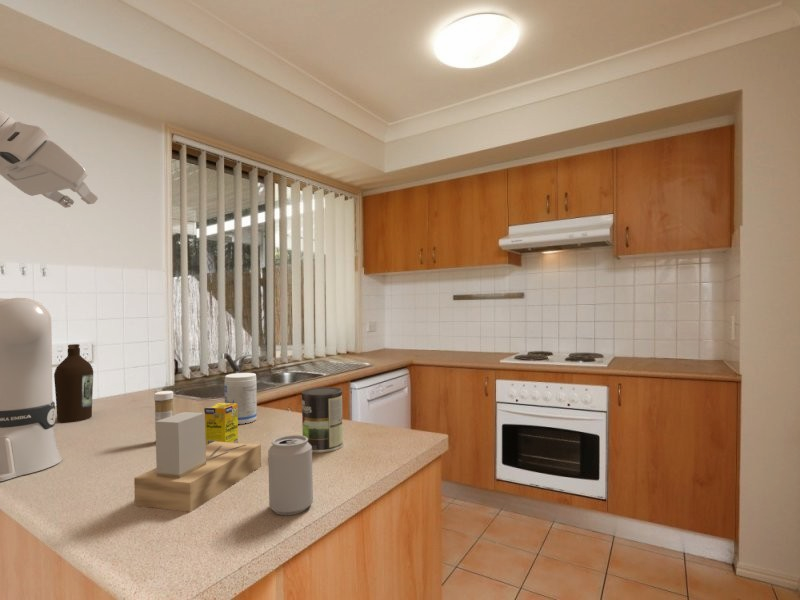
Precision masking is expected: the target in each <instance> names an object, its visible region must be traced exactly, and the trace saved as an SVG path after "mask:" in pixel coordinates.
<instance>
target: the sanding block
mask: <svg viewBox="0 0 800 600" xmlns="http://www.w3.org/2000/svg"><path fill="white" fill-rule="evenodd" d="M154 424H155V425H154V427H155V426H156V431H155V441H156V442H155V454H156V455H155V456H156V457H155V459H156V462H155V464H156V468H157V476H160V477H171V478H181V477H183V476H185V475H187V474H189V473H191V472H192V471H194V470H196V469H198V468H200V467H202V466H204V465H206V439H205V413H204V412H191V411H190V412H188V411H183V412H180V413H176V414H173V416H170V417H167V418H164V419H161V420H158V421H155V420H154Z"/></svg>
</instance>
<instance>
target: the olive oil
mask: <svg viewBox="0 0 800 600" xmlns="http://www.w3.org/2000/svg"><path fill="white" fill-rule="evenodd" d="M80 347H81V345H80V343H74V344H73V343H72V344H67V356H66V358H64V359H63V360H62V361H61V362H60V363H59V364H58V365H57V366H56V368H55V370H54V373H53V381H54V392H55V409H56V422H57V423H73V422H80V421H85V420H88V419H91V418H92V416H93V392H94V390H93V389H94V368H93V366H92V364H91V363H90V362H89V361H87V360H86V359H85V358H84V357H82V355H81V348H80Z"/></svg>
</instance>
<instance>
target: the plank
mask: <svg viewBox="0 0 800 600" xmlns="http://www.w3.org/2000/svg"><path fill="white" fill-rule="evenodd" d="M258 468H259V469H260V468H262V446H261V443H247V442H245V443H244V442H238V443H233V442H216V441H214V442H212V443H210V444H208V445H206V465H204V466H202V467H200V468H198V469H196V470H194V471H192V472H191V473H189V474H187V475H185V476H183V477H181V478H171V477H160V476H157V467H155V468H153V469H151V470H148V471H147V472H145V473H142V474H140V475H138V476H135V477H133V478H134V480H133V481H134V482H133V483H134V487H133V488H134V506H135V507H144V508H152V507H153V508H152V509H161V510H162V509H163V510H170V511H171V510H172V511H181V512H187V513H188V512H189V513H191V512H193V511H194V510H196V509H198V508H199V507H201V506H202V505H204V504H205V503H207V502H208V501H210V500H211V499H212V498H215V497H216V496H218V495H219V494H221V493H222V492H224V491H225V490H227V489H229V488H230V487H232V486H234V485H235V484H236V482H237V483H238V482H240V481H241V480H243V479H244V478H246V477H248V476H249V475H250V473H251V474H252V473H253V471H254V472H255V471H257V470H259V469H258ZM247 475H248V476H247ZM245 476H246V477H245Z"/></svg>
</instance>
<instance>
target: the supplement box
mask: <svg viewBox="0 0 800 600" xmlns="http://www.w3.org/2000/svg"><path fill="white" fill-rule="evenodd" d="M203 413H205V439H206V445H208V444H210V443H212V442H214V441H216V442H233V443H239V425H238V404H237V403H225V402H217V403H216V404H215V403H214V404H212V405H210V406H206V407H204V408H203Z"/></svg>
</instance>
